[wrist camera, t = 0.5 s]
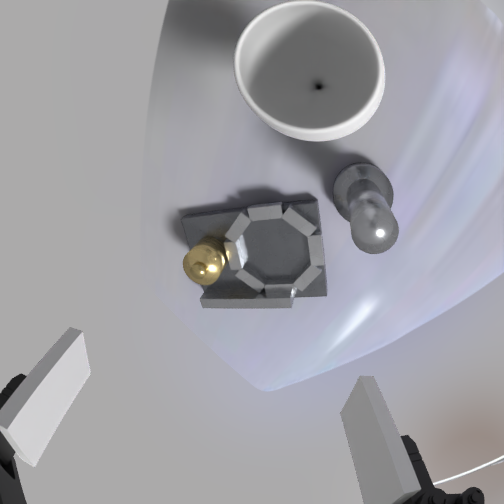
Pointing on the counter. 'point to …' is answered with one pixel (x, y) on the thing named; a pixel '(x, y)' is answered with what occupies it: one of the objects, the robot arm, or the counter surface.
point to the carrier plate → (256, 255)
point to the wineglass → (309, 70)
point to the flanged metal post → (366, 206)
